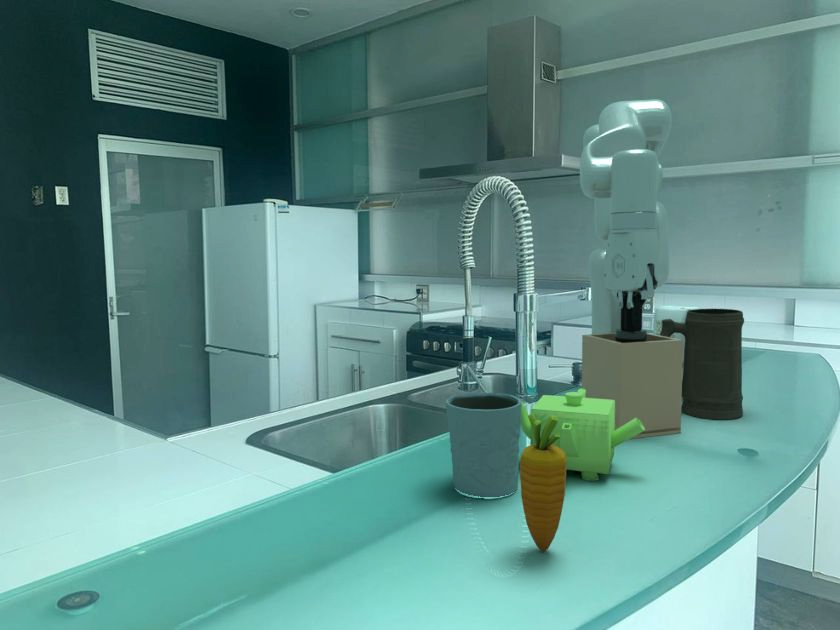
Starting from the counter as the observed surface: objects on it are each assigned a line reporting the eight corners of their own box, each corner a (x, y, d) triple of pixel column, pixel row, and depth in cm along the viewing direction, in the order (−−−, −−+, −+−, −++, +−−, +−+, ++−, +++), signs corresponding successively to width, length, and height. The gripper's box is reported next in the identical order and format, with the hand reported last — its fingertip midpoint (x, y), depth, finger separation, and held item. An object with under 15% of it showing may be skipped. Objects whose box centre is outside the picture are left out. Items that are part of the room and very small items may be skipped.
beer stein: (734, 405, 127) (730, 305, 125) (757, 420, 116) (753, 310, 114) (654, 410, 128) (649, 311, 126) (669, 424, 118) (664, 317, 116)
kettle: (502, 461, 97) (502, 388, 95) (577, 447, 103) (578, 378, 101) (565, 495, 83) (566, 410, 82) (647, 477, 89) (649, 398, 88)
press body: (574, 418, 120) (575, 333, 118) (630, 412, 123) (631, 329, 121) (619, 439, 106) (621, 344, 104) (680, 432, 109) (683, 340, 108)
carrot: (514, 541, 70) (514, 408, 69) (558, 539, 71) (559, 406, 69) (525, 564, 65) (525, 420, 64) (573, 561, 66) (574, 418, 64)
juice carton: (663, 389, 142) (665, 304, 140) (703, 395, 136) (705, 306, 134) (647, 395, 136) (649, 306, 134) (688, 401, 130) (690, 309, 128)
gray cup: (504, 507, 79) (504, 413, 78) (433, 493, 84) (431, 404, 83) (532, 480, 88) (532, 395, 87) (465, 469, 93) (465, 388, 92)
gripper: (590, 226, 116) (589, 327, 117) (640, 222, 101) (638, 337, 103) (626, 226, 118) (624, 325, 120) (680, 222, 103) (678, 334, 105)
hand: (631, 330), depth 111 cm, fingers closed
